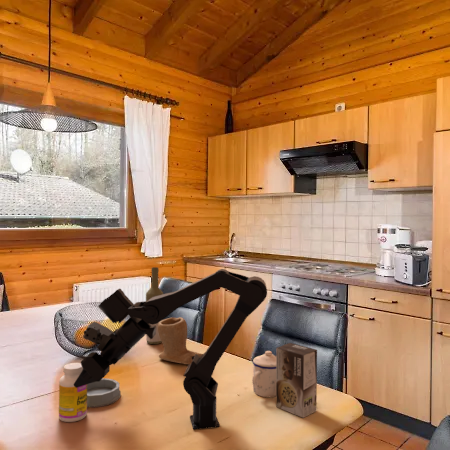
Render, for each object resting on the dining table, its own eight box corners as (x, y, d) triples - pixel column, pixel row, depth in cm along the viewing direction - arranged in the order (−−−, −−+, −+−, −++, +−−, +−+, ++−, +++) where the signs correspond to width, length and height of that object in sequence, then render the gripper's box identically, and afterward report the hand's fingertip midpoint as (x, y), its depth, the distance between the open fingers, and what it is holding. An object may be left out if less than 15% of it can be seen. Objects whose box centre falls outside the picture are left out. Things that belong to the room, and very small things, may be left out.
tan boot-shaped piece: (150, 361, 146) (150, 318, 146) (173, 352, 156) (174, 312, 156) (182, 371, 137) (182, 325, 137) (205, 361, 147) (205, 318, 147)
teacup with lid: (263, 382, 129) (264, 344, 128) (289, 390, 123) (290, 351, 123) (240, 395, 119) (240, 354, 119) (267, 404, 114) (267, 361, 113)
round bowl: (119, 405, 112) (119, 394, 112) (70, 409, 110) (70, 397, 109) (121, 386, 124) (121, 376, 124) (77, 389, 122) (77, 379, 122)
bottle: (152, 339, 172) (153, 266, 172) (166, 341, 169) (167, 267, 169) (141, 343, 166) (142, 268, 166) (156, 346, 163) (157, 269, 162)
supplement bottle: (77, 424, 102) (78, 371, 101) (53, 421, 103) (53, 369, 103) (92, 412, 108) (92, 362, 108) (68, 409, 109) (68, 360, 109)
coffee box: (317, 410, 110) (318, 349, 110) (303, 418, 106) (304, 355, 106) (289, 399, 117) (290, 341, 117) (274, 406, 112) (275, 346, 112)
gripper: (116, 305, 114) (76, 343, 115) (90, 322, 95) (42, 368, 96) (144, 335, 113) (104, 373, 114) (123, 358, 95) (75, 404, 96)
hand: (82, 378), depth 105 cm, fingers open, 9 cm apart
